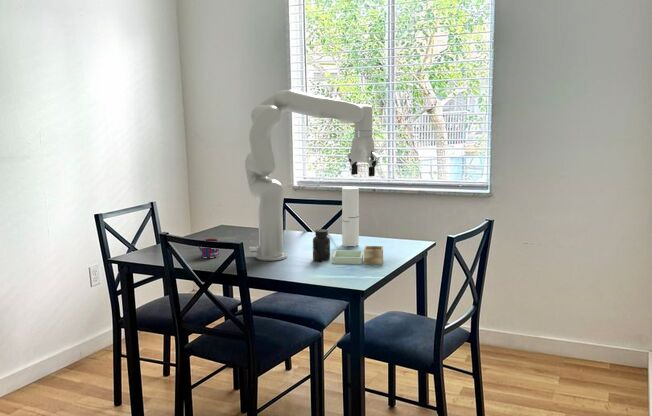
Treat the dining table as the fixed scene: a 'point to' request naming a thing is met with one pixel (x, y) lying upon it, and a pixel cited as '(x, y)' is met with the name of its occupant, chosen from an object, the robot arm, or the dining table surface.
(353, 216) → the cylindrical container
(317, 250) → the supplement bottle
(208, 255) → the mug
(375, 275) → the dining table surface
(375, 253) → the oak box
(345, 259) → the tray
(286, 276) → the dining table surface
